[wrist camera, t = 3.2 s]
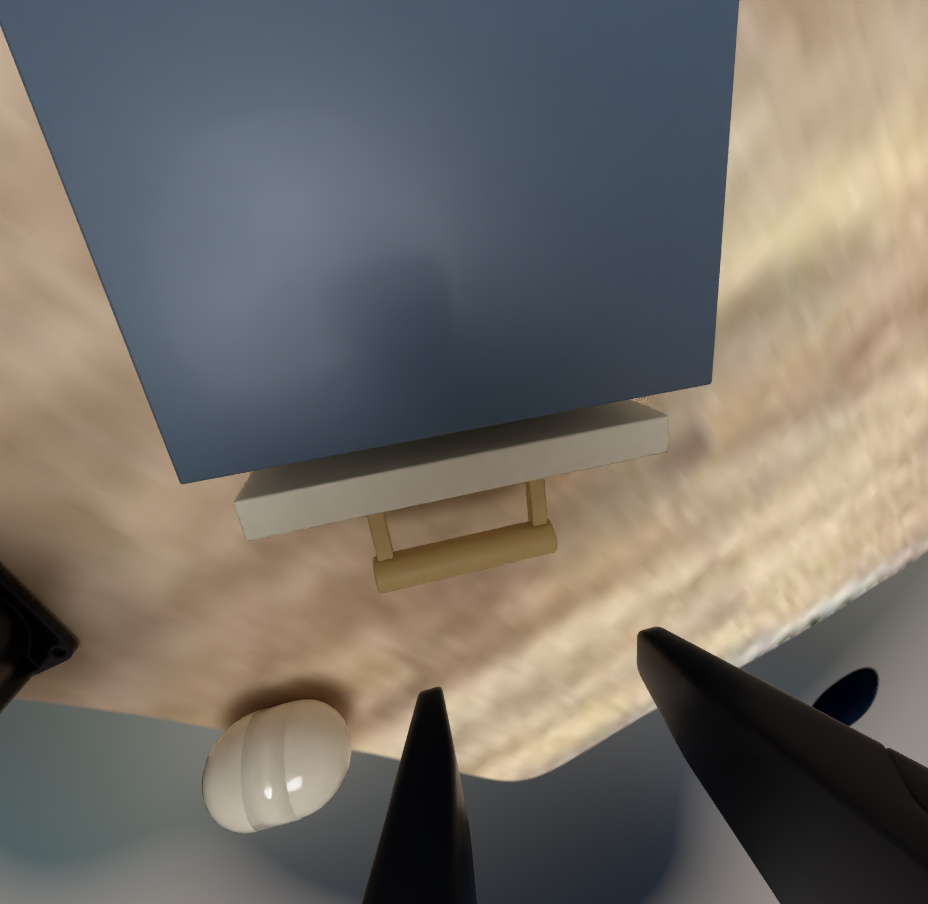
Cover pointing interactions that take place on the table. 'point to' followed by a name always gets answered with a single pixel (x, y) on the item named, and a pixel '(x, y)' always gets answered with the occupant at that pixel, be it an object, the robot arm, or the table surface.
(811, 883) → the robot arm
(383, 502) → the drawer
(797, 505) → the table surface
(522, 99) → the cabinet
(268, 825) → the egg
